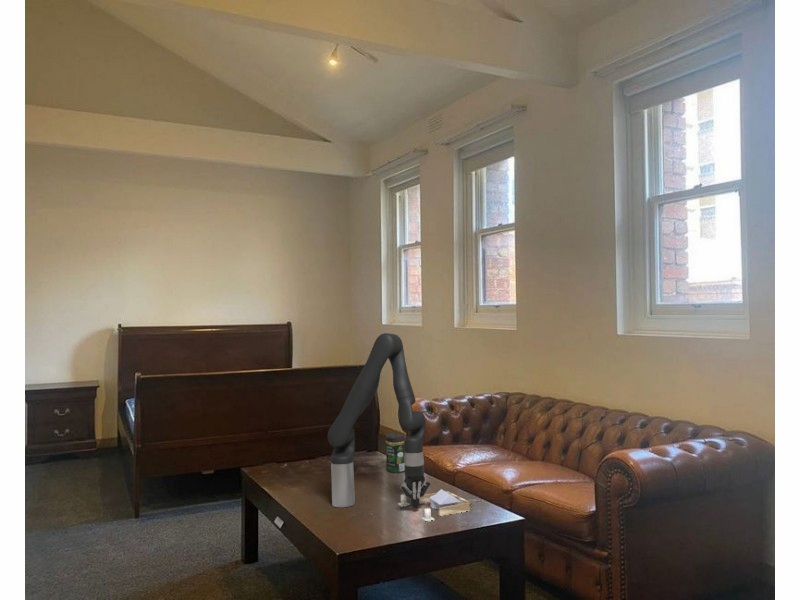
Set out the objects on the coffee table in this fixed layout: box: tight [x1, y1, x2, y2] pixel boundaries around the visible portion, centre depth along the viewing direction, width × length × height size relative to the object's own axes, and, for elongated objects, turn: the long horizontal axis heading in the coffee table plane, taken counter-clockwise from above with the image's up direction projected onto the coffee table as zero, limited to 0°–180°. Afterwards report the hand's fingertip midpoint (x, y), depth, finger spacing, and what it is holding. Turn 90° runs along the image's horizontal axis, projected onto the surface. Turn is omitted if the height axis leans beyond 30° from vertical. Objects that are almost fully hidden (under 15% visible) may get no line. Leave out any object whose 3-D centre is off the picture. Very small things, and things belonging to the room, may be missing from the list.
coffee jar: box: [385, 432, 405, 474], centre depth 304 cm, size 10×8×19 cm
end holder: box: [419, 490, 473, 517], centre depth 244 cm, size 19×14×3 cm
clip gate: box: [397, 493, 435, 522], centre depth 239 cm, size 25×4×4 cm, turn 25°
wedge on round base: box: [429, 488, 461, 510], centre depth 244 cm, size 9×7×13 cm
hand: (415, 508), depth 239 cm, fingers closed
